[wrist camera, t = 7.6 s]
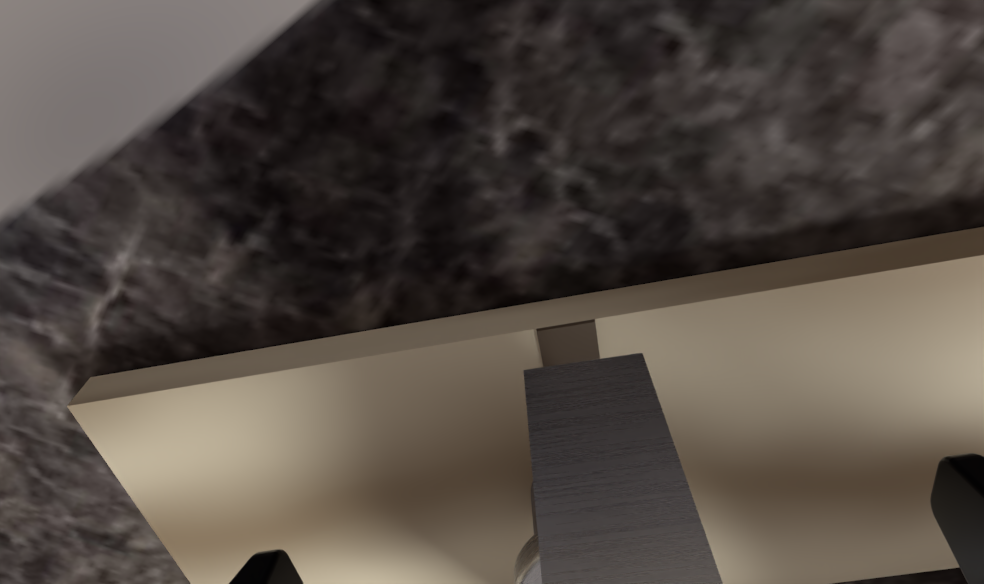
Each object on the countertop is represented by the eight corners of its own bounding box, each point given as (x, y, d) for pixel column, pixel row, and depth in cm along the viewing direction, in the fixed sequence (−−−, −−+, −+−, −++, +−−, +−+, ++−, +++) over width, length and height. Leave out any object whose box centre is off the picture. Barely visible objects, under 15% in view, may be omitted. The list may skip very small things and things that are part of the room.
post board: (996, 528, 18) (1079, 631, 16) (252, 625, 20) (219, 730, 18) (1098, 207, 13) (1245, 282, 11) (90, 376, 15) (11, 475, 13)
